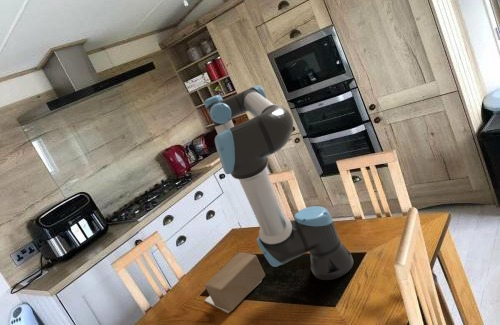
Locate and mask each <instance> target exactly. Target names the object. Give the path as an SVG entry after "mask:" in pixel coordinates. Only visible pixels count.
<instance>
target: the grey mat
mask: <svg viewBox="0 0 500 325" xmlns="http://www.w3.org/2000/svg"><path fill="white" fill-rule="evenodd" d="M262 281H263V279H262V280H261V281H260V282H259V283H258V284H257V285H256V286H255V287H254V288H253V289H252V290H251V291H250V293H251V292H252V291H253V290H255V289H256V288H257V286H259V284H261V283H262ZM204 302H206V303H207V304H209V305H211V306H213V307H216V308H217V309H220V310H221V311H223V312H225V313H227V314H229V313H230V312H231V311H228V310H226V309H223V308H220V307H217V306H215V304H214V302H213V301H212V299H211V297H210V295H209V296H208V297H206V299H204Z"/></svg>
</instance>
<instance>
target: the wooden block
mask: <svg viewBox="0 0 500 325" xmlns="http://www.w3.org/2000/svg"><path fill="white" fill-rule="evenodd" d="M265 277H266V274H265V272H264V270H263V267H262V265H261V263H260V261H259V259H258V256H257V255H256V254H252V253H251V254H250V253H246V252H238V253H237V254H235V256H234V257H233V258H232V259H231V260H230V261H229V262H228V263H226V264H225V265H224V266H223V267H222V268H221V269H220V270H219V271H218V272H216V273H215V275H213V276H212V277H211V278H210V279H209V280H208V281H207V282H205V284H204V287H205V289H206V291H207V293H208V295H209V296H210V297H211V299H212V301H213V302H214V304H215V306H217V307H220V308H223V309H226V310H228V311H230V312H232V311H233V310H234V309H235V308H236V307H237V306H239V304H241V302H242V301H243V300H244V299H245V298H246V297H247V296H248V295H249V294H251V292H252V291H253V290H254V289H255V288H256V287H257V286H258V285H259V284H260V283H261V282H260V281H261V280H262V281H263V279H264V278H265ZM259 282H260V283H259ZM258 283H259V284H258ZM257 284H258V285H257ZM256 285H257V286H256ZM255 286H256V287H255ZM254 287H255V288H254ZM253 288H254V289H253ZM252 289H253V290H252ZM251 290H252V291H251ZM250 291H251V292H250ZM215 306H214V307H215ZM217 307H216V308H217Z"/></svg>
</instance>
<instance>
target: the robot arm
mask: <svg viewBox="0 0 500 325" xmlns="http://www.w3.org/2000/svg"><path fill="white" fill-rule="evenodd" d="M203 104H204V106H205V109H206V111H207V113H208V115H209V117H210V120H211V121H212V125H214V129H215V130H216V133H217V135H215V137H214V144H215V148H216V151H217V154H218V158H219V160H220V163H221V166H222V169H223V171H224V173H225V174H226V175H231V177H232V178H233V179H235V180H238V181H239V183H240V185H241V187H242V189H243V192H244V195H245V196H246V199H247V200H248V203H249V205H250V208H251V210H252V212H253V214H254V216H255V219H256V221H257V223H258V225H259V231H258V237H257V238H256V242H257V245H258V246H259V249H260V251H261V252H262V254H263V256H264V257H265V259H266V261H267V262H268V263H269V265H270V266H272V267H273V268H274V267H275V268H276V267H279V266H281V265H285V264H286V263H288V262H290V261H293V260H294V259H296V258H299V257H301V256H302V255H305V254H306V253H308V252H309V257H310V269H311V272H312V274H313V275H314V278H317V279H319V280H321V281H330V280H335V279H336V280H337V279H339V278H340V277H342V276H345V275H346V274H348V272H350V270H351V269H352V268H353V266H354V259H353V256H352V254H351V252H350V250H348V249H347V247H345V245H344V243H342V242H341V239H340V236H339V233H338V231H337V228H336V226H335V224H334V219H333V218H332V216H331V213H330V211H329V210H328V209H327V208H325V207H323V206H314V205H313V206H308V207H305V208H301V209H300V210H298V211H297V212H296V213H295V215H294V220H292V221H290V220H289V219H287V218H285V216H284V213H283V211H282V208H281V206H280V204H279V201H278V197H277V195H276V192H275V189H274V188H273V185H272V183H271V180H270V177H269V174H268V172H267V167H268V164H269V161H268V157H269V156H271V155H273V154H275V153H276V152H279V151H280V150H281V149H283V148H284V147H285V146H286V145H287V144H288V142H289V141H290V139H291V136H292V134H293V130H294V120H293V117H292V114H291V113H290V111H289V110H288V109H287V108H285V107H284V106H282V105H280V104H274V103H273V102H271V101H270V100H269V99H267V95H266V93H265V91H264V88H263V86H261V85H259V84H257V85H254V86H251V87H249V88H247V89H245V90H244V91H241V92H238V93H236V94H234V95H232V96H230V97H228V98H225V99H224V98H223V97H222V96H221V94H216V95H214V96H211V97H209V98H206V100H204V101H203ZM247 112H248V113H249V114H250V115H251V116H253V117H252V118H250V119H248V120H245V121H244V122H241V123H239V124H237V125H234V122H233V121H232V119H233V118H235V117H237V116H240V115H242V114H244V113H247Z"/></svg>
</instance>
